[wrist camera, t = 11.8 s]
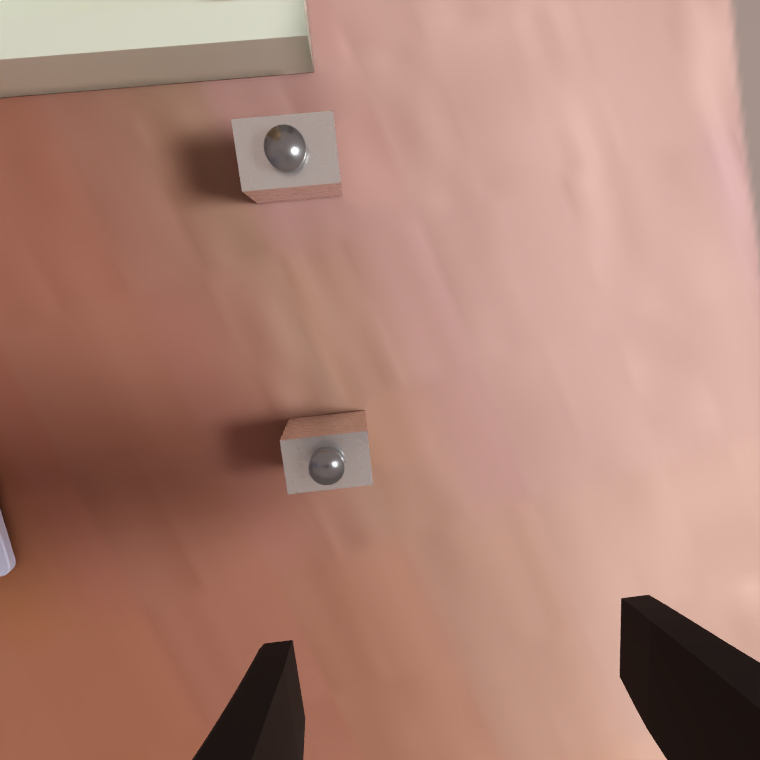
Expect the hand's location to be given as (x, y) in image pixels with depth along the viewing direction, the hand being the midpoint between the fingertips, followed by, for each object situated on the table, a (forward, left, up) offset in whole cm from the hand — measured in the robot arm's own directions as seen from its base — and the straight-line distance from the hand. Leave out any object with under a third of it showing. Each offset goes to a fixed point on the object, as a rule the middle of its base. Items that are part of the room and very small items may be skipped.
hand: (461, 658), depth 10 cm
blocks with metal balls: (-3, +7, -9) cm, 12 cm away
